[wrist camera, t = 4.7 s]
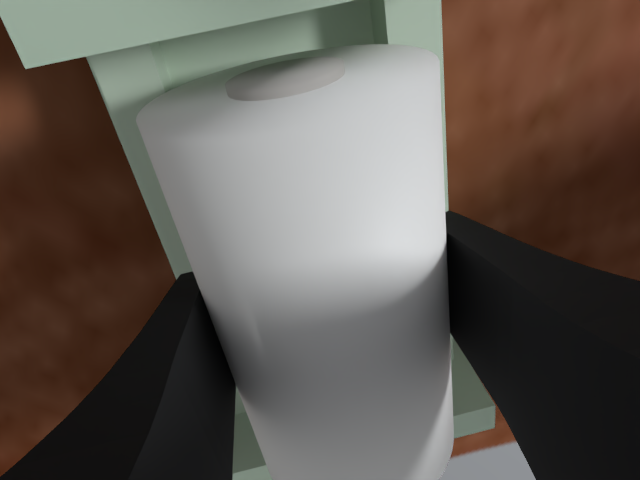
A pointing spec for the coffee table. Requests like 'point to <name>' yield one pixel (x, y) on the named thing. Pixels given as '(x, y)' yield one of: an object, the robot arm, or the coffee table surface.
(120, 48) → the holder
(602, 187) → the coffee table surface
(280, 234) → the roll
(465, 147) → the coffee table surface
